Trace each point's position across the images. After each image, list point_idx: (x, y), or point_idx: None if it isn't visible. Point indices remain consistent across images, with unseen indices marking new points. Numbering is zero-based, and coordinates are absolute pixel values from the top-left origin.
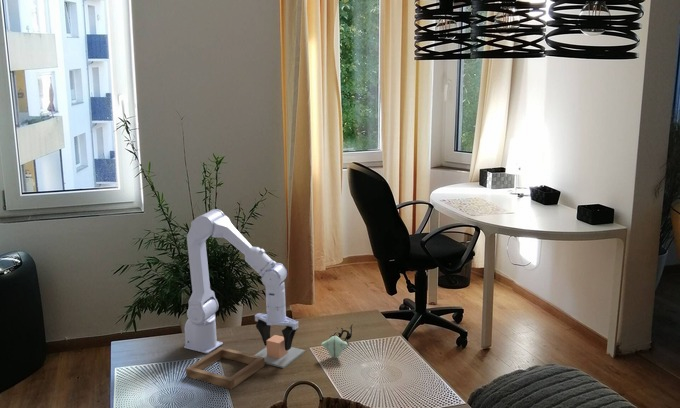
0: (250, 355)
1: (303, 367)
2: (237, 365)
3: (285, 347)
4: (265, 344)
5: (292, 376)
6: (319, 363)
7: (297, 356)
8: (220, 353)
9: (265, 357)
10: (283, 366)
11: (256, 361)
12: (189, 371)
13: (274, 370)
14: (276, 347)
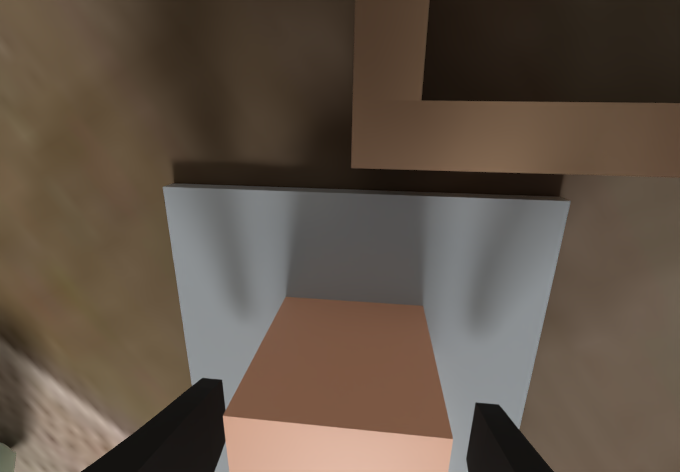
0: (558, 140)
1: (59, 262)
2: (649, 15)
3: (193, 398)
4: (486, 411)
5: (10, 83)
6: (20, 354)
7: (195, 382)
8: None
9: (417, 270)
10: (164, 187)
11: (382, 15)
12: None
13: (215, 109)
14: (287, 368)
